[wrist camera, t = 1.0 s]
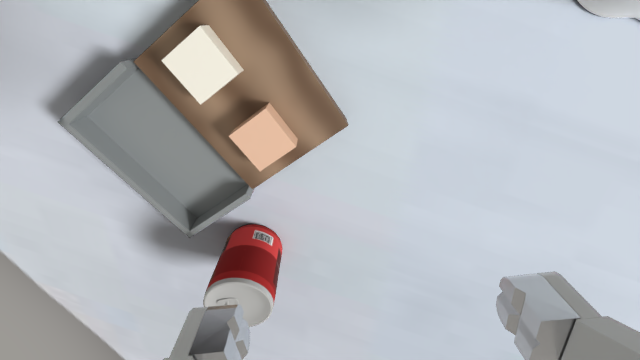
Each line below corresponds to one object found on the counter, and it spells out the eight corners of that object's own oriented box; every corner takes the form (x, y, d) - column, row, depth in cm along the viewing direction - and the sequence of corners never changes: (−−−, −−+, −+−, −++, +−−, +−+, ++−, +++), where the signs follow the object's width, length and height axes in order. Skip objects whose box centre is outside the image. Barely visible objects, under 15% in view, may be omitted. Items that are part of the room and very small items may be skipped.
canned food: (220, 227, 43) (191, 288, 34) (274, 217, 43) (261, 276, 33) (238, 267, 47) (217, 332, 37) (288, 258, 46) (280, 323, 36)
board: (243, -32, 29) (237, -36, 27) (346, 118, 36) (348, 125, 34) (145, 58, 33) (133, 61, 31) (256, 179, 40) (252, 189, 38)
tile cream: (208, 25, 29) (199, 25, 27) (244, 70, 31) (238, 74, 29) (172, 57, 31) (161, 60, 28) (208, 98, 32) (200, 104, 30)
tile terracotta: (269, 102, 33) (265, 108, 30) (297, 138, 35) (296, 146, 32) (234, 128, 34) (228, 136, 32) (263, 162, 36) (260, 171, 34)
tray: (139, 57, 33) (120, 61, 30) (255, 184, 40) (250, 198, 37) (80, 113, 36) (57, 121, 33) (199, 222, 43) (189, 238, 40)
